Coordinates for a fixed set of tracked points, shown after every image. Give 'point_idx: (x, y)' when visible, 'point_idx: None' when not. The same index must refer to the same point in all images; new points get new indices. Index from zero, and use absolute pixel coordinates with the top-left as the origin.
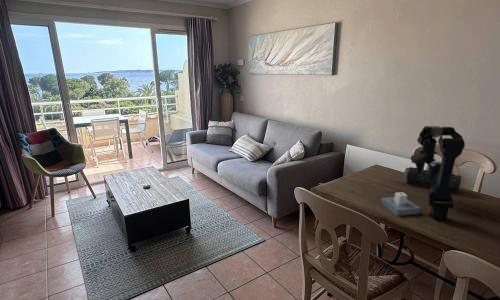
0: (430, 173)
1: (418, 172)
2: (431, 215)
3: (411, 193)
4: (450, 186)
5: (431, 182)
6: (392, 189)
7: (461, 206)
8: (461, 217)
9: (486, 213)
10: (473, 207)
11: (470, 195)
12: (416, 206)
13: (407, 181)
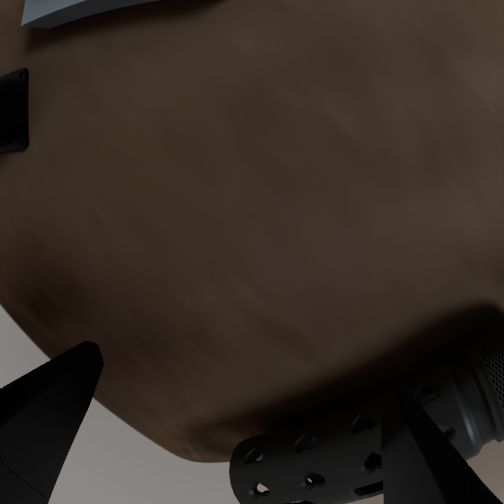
0: (2, 410)
1: (401, 408)
2: (10, 80)
3: (366, 196)
4: (266, 442)
5: (363, 411)
6: (484, 110)
7: (106, 329)
8: (9, 228)
9: (56, 349)
10: None
11: (221, 440)
12: (41, 8)
13: (501, 314)
